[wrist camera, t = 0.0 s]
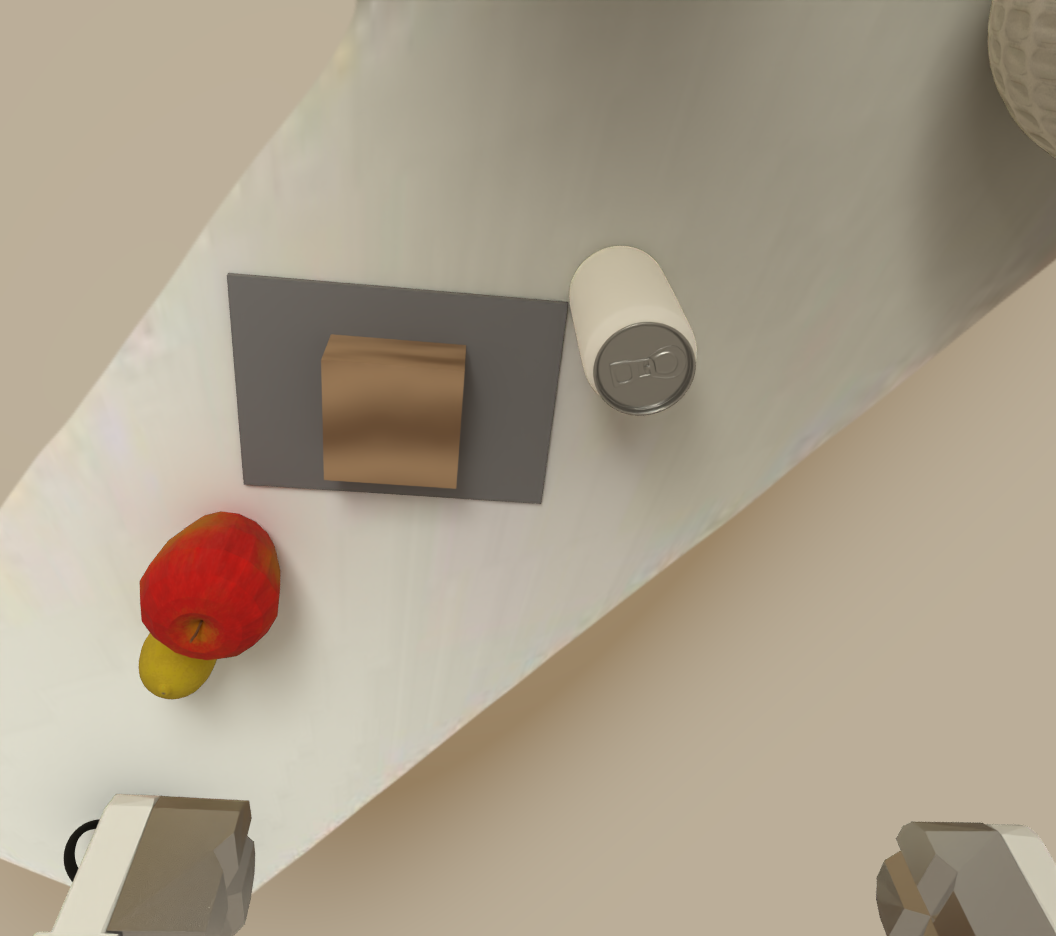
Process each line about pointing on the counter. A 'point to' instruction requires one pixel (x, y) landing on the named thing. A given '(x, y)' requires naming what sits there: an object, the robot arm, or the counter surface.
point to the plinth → (392, 411)
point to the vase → (1026, 65)
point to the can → (631, 331)
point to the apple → (212, 588)
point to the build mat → (403, 314)
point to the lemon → (171, 670)
